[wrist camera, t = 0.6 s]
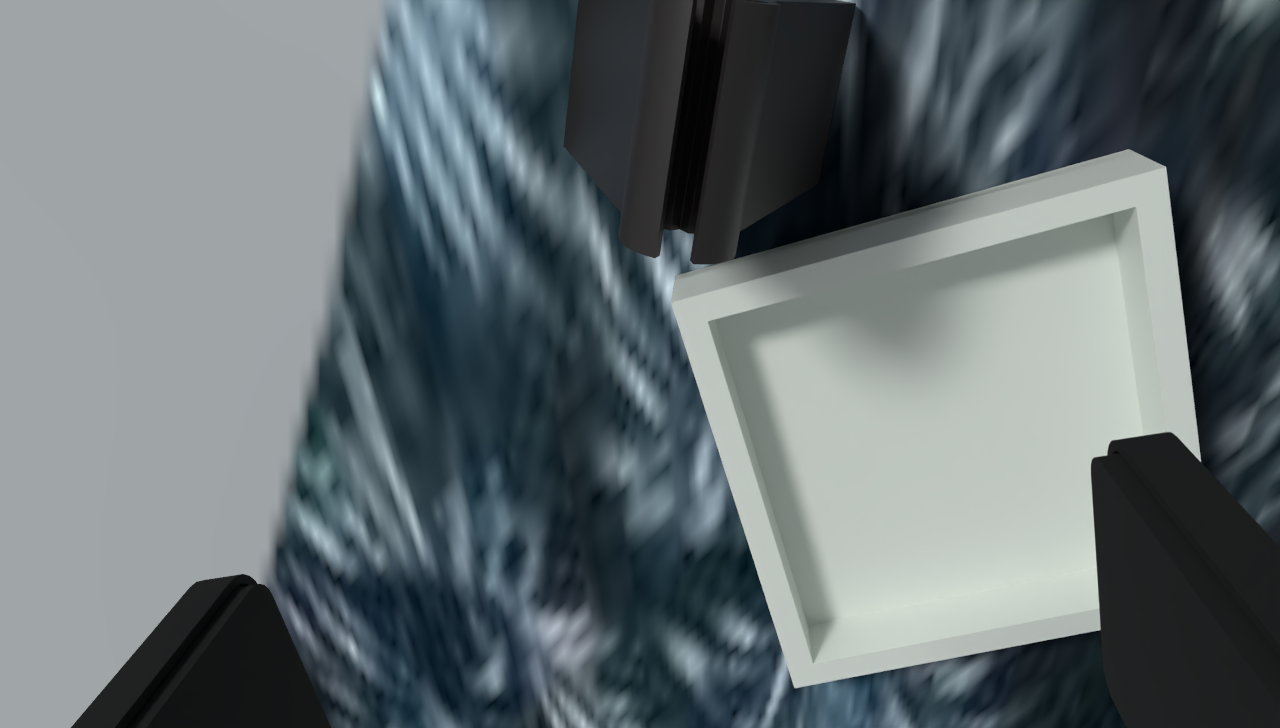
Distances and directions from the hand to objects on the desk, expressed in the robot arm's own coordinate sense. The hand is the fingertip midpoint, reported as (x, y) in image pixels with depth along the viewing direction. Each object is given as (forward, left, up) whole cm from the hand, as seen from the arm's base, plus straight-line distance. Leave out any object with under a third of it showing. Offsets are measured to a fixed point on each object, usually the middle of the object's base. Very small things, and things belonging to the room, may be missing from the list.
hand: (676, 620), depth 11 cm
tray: (-6, +12, -25) cm, 29 cm away
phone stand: (-1, -3, -26) cm, 26 cm away
